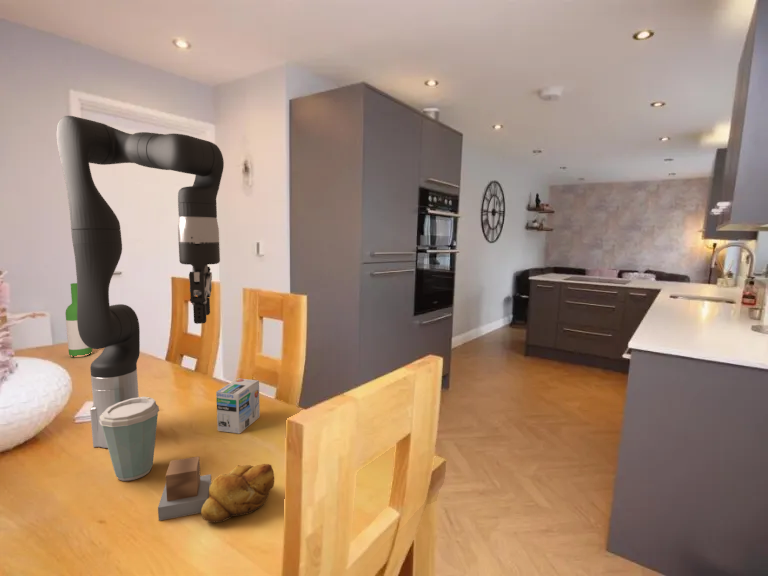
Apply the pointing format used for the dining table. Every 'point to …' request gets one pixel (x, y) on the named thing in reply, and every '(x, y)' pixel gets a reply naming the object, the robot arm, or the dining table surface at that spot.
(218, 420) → the light bulb box
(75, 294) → the wine bottle
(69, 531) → the dining table surface
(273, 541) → the dining table surface
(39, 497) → the dining table surface
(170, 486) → the walnut cube
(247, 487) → the bread roll
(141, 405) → the disposable coffee cup
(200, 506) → the slate coaster
